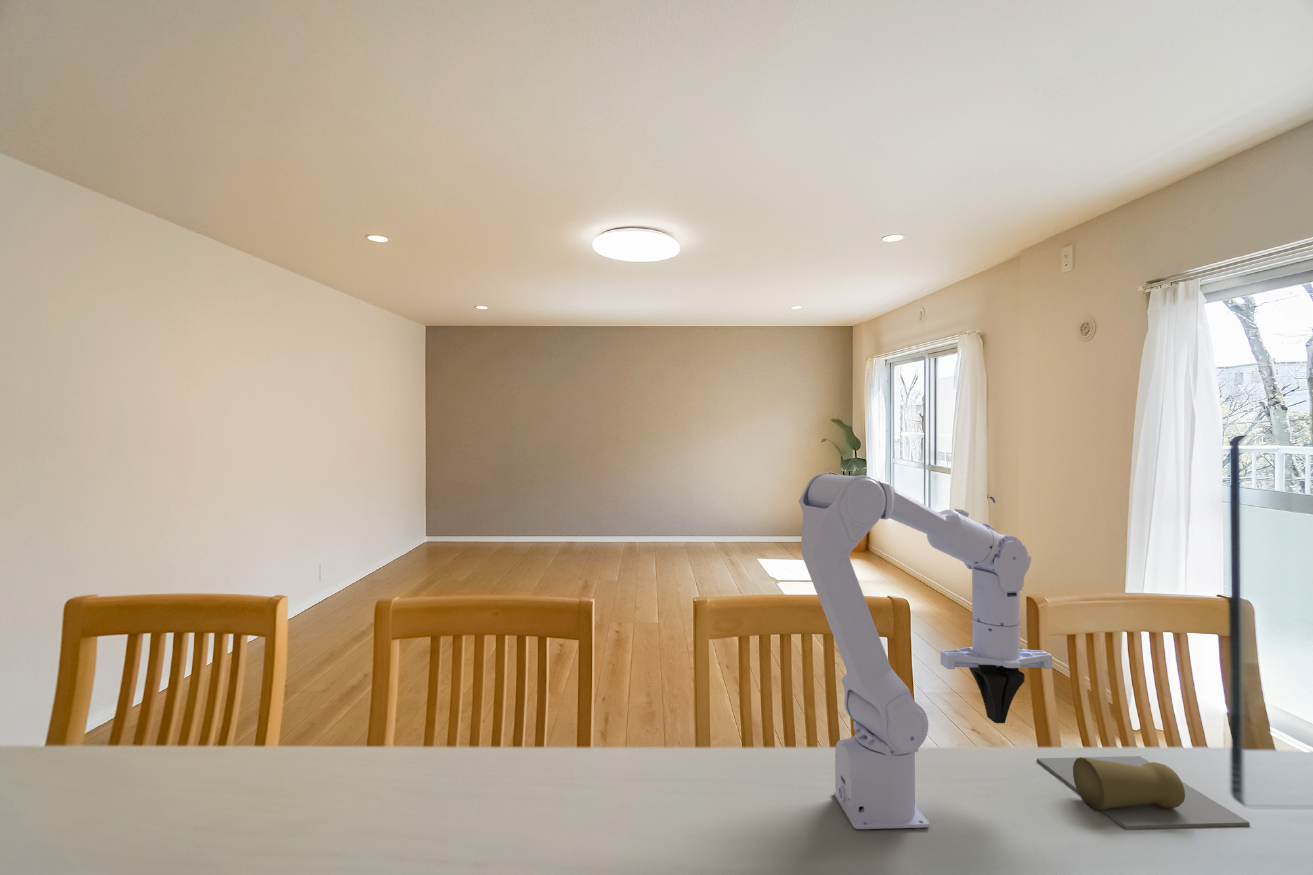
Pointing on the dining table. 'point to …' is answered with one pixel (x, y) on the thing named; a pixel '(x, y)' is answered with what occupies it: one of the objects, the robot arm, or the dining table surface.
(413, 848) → the dining table surface
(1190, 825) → the mat
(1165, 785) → the cork
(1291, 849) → the dining table surface
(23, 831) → the dining table surface
